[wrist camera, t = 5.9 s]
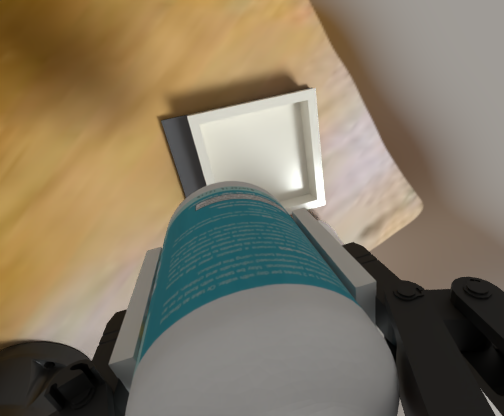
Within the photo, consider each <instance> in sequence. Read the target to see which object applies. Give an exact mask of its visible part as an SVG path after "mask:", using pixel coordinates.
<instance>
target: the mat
mask: <svg viewBox="0 0 504 416" xmlns="http://www.w3.org/2000/svg"><path fill="white" fill-rule="evenodd" d="M307 89H312V88H307ZM303 90H304V89H303ZM298 91H299V90H298ZM294 92H295V91H294ZM289 93H290V92H289ZM285 94H286V93H285ZM280 95H281V94H280ZM275 96H277V95H275ZM271 97H272V96H271ZM266 98H267V97H266ZM262 99H263V98H262ZM257 100H258V99H257ZM253 101H254V100H253ZM248 102H249V101H248ZM243 103H245V102H243ZM239 104H240V103H239ZM234 105H236V104H234ZM230 106H231V105H230ZM225 107H226V106H225ZM221 108H222V107H221ZM216 109H217V108H216ZM211 110H213V109H211ZM207 111H208V110H207ZM202 112H204V111H202ZM198 113H199V112H198ZM193 114H194V113H193ZM189 115H190V114H189ZM161 122H162V125H163V128H164V131H165V134H166V137H167V140H168V144H169V147H170V150H171V153H172V156H173V159H174V162H175V165H176V168H177V171H178V174H179V177H180V180H181V183H182V187H183V190H184V193H185V196H186V198H187V197H188V196H189V195H191V194H192V193H194V192H195V191H197V190H199V189H201V188H203V187H205V186H207V185H206V182H205V178H204V175H203V171H202V167H201V164H200V160H199V157H198V153H197V150H196V146H195V143H194V139H193V136H192V132H191V129H190V125H189V122H188V118H187V115H184V116H180V117H175V118H170V119H166V120H162V121H161Z"/></svg>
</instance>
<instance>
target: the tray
mask: <svg viewBox="0 0 504 416" xmlns="http://www.w3.org/2000/svg"><path fill="white" fill-rule="evenodd" d="M187 118H188V122H189V125H190V129H191V132H192V136H193V139H194V143H195V146H196V150H197V153H198V157H199V160H200V164H201V167H202V171H203V175H204V178H205V182H206V185H210V184H214V183H218V182H224V181H239V182H246V183H250V184H253V185H256V186H258V187H260V188H262V189H264V190H266V191H267V192H269V193H270V194H271V195H273V196H274V197H275V198H276V199H277V200H278V201H279V202H280V203H281V205H282V206H283V207H284V208H285V210H286V211H287V212H288V214H289V215H290V214H292V211H293V210H297V209H300V208H304V207H305V208H306V209H307V210H308V209H312V208H316V207H319V206H323V205H325V195H324V183H323V171H322V159H321V147H320V135H319V123H318V111H317V99H316V88H312V89H304V90H299V91H295V92H290V93H286V94H281V95H277V96H272V97H267V98H263V99H258V100H254V101H249V102H245V103H240V104H236V105H231V106H226V107H222V108H217V109H213V110H208V111H204V112H199V113H194V114H190V115H187Z"/></svg>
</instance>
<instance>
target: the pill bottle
mask: <svg viewBox="0 0 504 416" xmlns="http://www.w3.org/2000/svg"><path fill="white" fill-rule="evenodd" d="M399 399H400V389H399V377H398V371H397V367H396V364H395V361H394V358H393V355H392V353H391V350H390V349H389V347H388V345H387V343H386V341H385V339H384V338H383V336H382V335H381V333H380V332H379V330H378V329H377V328H376V326H375V325H374V324H373V322H372V321H371V319H370V318H369V317H368V315H367V314H366V313H365V311H364V310H363V309H362V308H361V306H360V305H359V304H358V303H357V301H356V300H355V299H354V297H353V296H352V295H351V294H350V292H349V291H348V290H347V288H346V287H345V286H344V285H343V283H342V282H341V281H340V279H339V278H338V277H337V275H336V274H335V273H334V272H333V270H332V269H331V268H330V267H329V265H328V264H327V263H326V261H325V260H324V259H323V258H322V256H321V255H320V254H319V252H318V251H317V250H316V249H315V247H314V246H313V245H312V243H311V242H310V241H309V240H308V238H307V237H306V236H305V234H304V233H303V232H302V231H301V229H300V228H299V227H298V225H297V224H296V223H295V221H294V220H293V219H292V218H291V216H290V215H289V214H288V212H287V211H286V210H285V208H284V207H283V206H282V205H281V203H280V202H279V201H278V200H277V199H276V198H275V197H274V196H273V195H271V194H270V193H269V192H267V191H266V190H264V189H262V188H260V187H258V186H256V185H253V184H250V183H246V182H239V181H224V182H218V183H214V184H210V185H207V186H205V187H203V188H201V189H199V190H197V191H195V192H194V193H192V194H191V195H189V196H188V197H187V198H186V199H185V200H184V201H183V202H182V203H181V204H180V205H179V206H178V208H177V209H176V211H175V212H174V214H173V216H172V217H171V219H170V222H169V225H168V228H167V232H166V236H165V239H164V244H163V248H162V253H161V257H160V262H159V266H158V270H157V275H156V279H155V284H154V288H153V292H152V297H151V301H150V305H149V309H148V314H147V318H146V323H145V327H144V331H143V336H142V340H141V344H140V348H139V353H138V357H137V361H136V365H135V370H134V374H133V379H132V383H131V388H130V393H129V398H128V402H127V407H126V412H125V416H397V413H398V406H399Z"/></svg>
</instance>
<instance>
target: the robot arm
mask: <svg viewBox="0 0 504 416" xmlns="http://www.w3.org/2000/svg"><path fill="white" fill-rule="evenodd" d="M292 215H293V220H294V221H295V223H296V224H297V225H298V227H299V228H300V229H301V231H302V232H303V233H304V234H305V236H306V237H307V238H308V240H309V241H310V242H311V243H312V245H313V246H314V247H315V249H316V250H317V251H318V252H319V254H320V255H321V256H322V258H323V259H324V260H325V261H326V263H327V264H328V265H329V267H330V268H331V269H332V270H333V272H334V273H335V274H336V275H337V277H338V278H339V279H340V281H341V282H342V283H343V285H344V286H345V287H346V288H347V290H348V291H349V292H350V294H351V295H352V296H353V297H354V299H355V300H356V301H357V303H358V304H359V305H360V306H361V308H362V309H363V310H364V311H365V313H366V314H367V315H368V317H369V318H370V319H371V321H372V322H373V324H374V325H375V326H376V328H377V327H378V328H379V329H380V331H381V332H382V333H383V334H384V339H385V341H386V343H387V345H388V347H389V349H390V350H391V353H392V355H393V358H394V361H395V364H396V367H397V371H398V377H399V389H400V400H401V403H402V407H403V410H404V414H405V416H495V414H494V412H493V410H492V408H491V407H490V405H489V403H488V402H487V399H486V398H485V396H484V394H483V393H482V391H483V392H484V393H485V395H486V396H487V397H488V398H489V400H490V401H491V402H492V403H493V404H494V405H495V407H496V408H497V409H498V411H499V412H500V413H501V414H502V415H503V416H504V292H503V291H502V290H501V289H500V288H498V287H497V286H495V285H493V284H492V283H490V282H488V281H485V280H482V279H479V278H473V277H461V278H458V279H455V280H454V281H453V282H452V285H451V289H443V290H424V288H422V287H421V286H419V285H417V284H416V283H413V282H410V281H403V280H400V279H399V278H398V277H397V276H396V275H395V274H393V273H392V272H391V271H390V270H389V269H388V268H387V267H386V266H385V265H383V264H382V263H381V262H380V261H379V260H377V258H376V257H374V256H373V255H371V253H370V252H369V251H368V250H367V249H366V248H364V247H363V246H361V245H359V244H356V243H354V242H352V243H349V244H345V245H341V244H340V243H339V242H338V241H337V240H336V239H335V238H334V237H333V236H332V235H331V234H330V233H329V232H328V231H327V230H326V229H325V228H324V227H323V226H322V225H321V224H320V223H319V222H318V221H317V220H316V219H315V218H314V217H313V216H312V215H311V214H310V213H309V212H308V211H307V209H306V208H305V207H304V208H300V209H297V210H293V211H292ZM161 253H162V248H161V247H159V248H156V249H152V250H148V251H147V253H146V256H145V259H144V262H143V265H142V267H141V270H140V273H139V276H138V279H137V282H136V285H135V288H134V291H133V294H132V297H131V300H130V303H129V305H128V308H127V310H123V311H120V312H116V313H115V314H114V316H113V317H112V318H111V319H110V321H109V322H108V323H107V325H106V328H105V330H104V333H103V336H102V338H101V340H100V342H99V346H98V347H97V350H96V352H95V355H94V357H93V360H92V361H90V360H89V359H88V358H87V357H86V356H85V355H84V354H82V353H81V352H79V351H77V350H75V349H73V348H70V347H67V346H64V345H60V344H55V343H46V342H34V343H24V344H19V345H15V346H12V347H9V348H6V349H4V350H2V351H0V416H125V412H126V407H127V402H128V398H129V393H130V388H131V383H132V379H133V374H134V370H135V365H136V361H137V357H138V353H139V348H140V344H141V340H142V336H143V331H144V327H145V323H146V318H147V314H148V309H149V305H150V301H151V297H152V292H153V288H154V284H155V279H156V275H157V270H158V266H159V262H160V257H161ZM480 388H481V389H480Z"/></svg>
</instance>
